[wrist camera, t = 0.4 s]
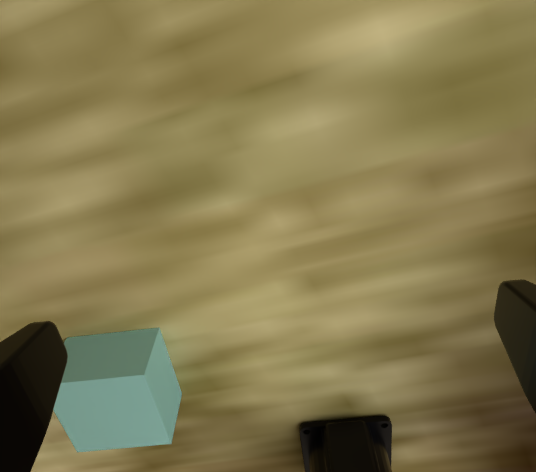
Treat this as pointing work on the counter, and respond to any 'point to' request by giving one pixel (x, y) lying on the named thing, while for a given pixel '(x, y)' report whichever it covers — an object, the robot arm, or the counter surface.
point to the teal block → (118, 391)
